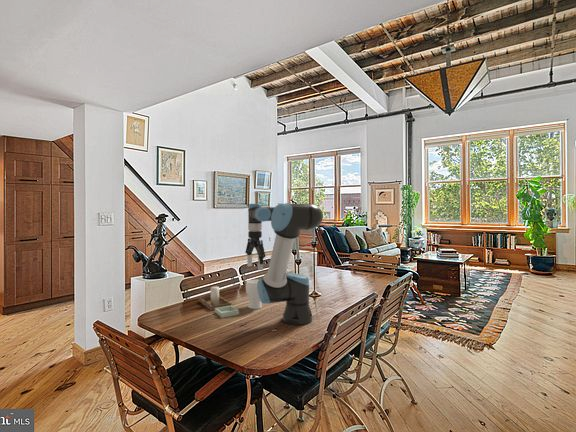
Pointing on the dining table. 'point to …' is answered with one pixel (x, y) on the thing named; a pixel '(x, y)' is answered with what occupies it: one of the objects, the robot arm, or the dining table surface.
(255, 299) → the cup
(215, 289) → the white rounded cylinder
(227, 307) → the dish
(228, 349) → the dining table surface
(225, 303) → the tray
